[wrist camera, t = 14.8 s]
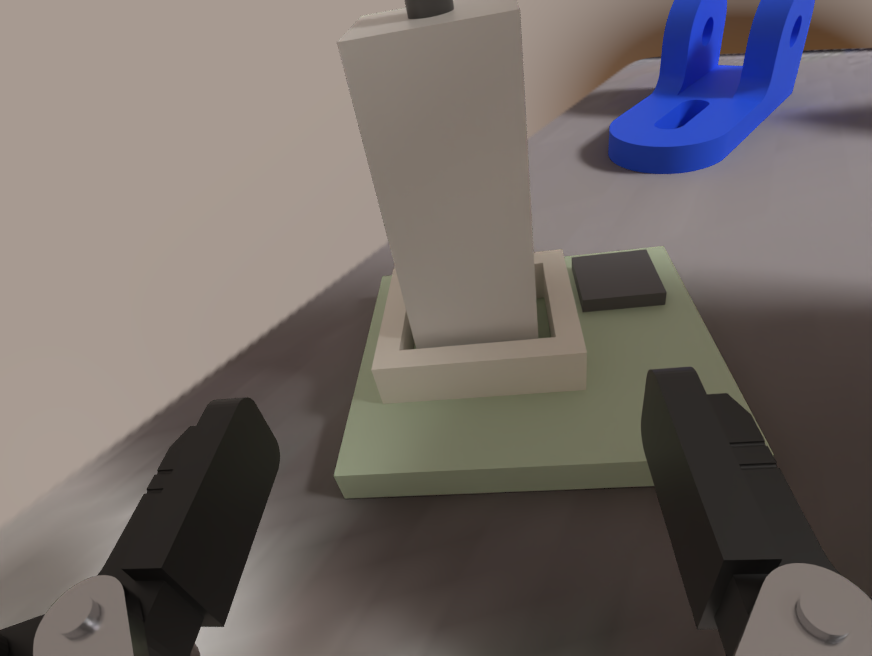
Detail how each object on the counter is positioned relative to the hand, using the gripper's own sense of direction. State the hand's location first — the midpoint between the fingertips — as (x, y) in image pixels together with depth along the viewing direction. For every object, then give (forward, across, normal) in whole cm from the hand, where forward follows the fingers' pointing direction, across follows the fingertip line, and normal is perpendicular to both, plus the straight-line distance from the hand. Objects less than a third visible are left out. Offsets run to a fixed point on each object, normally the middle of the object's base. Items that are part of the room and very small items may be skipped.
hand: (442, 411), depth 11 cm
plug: (+11, 0, +8) cm, 13 cm away
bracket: (+36, -17, +9) cm, 41 cm away
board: (+10, -2, +9) cm, 14 cm away
